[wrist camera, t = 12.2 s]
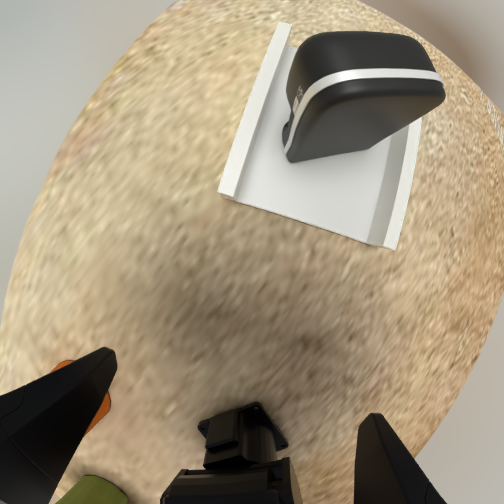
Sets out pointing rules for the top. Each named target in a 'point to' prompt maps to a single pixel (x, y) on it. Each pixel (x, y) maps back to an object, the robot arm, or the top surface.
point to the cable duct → (317, 166)
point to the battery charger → (355, 92)
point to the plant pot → (93, 492)
